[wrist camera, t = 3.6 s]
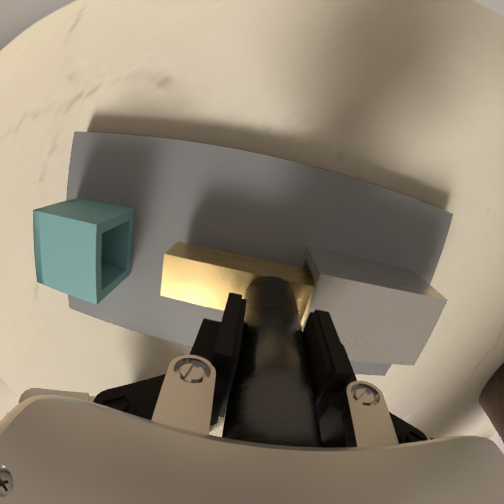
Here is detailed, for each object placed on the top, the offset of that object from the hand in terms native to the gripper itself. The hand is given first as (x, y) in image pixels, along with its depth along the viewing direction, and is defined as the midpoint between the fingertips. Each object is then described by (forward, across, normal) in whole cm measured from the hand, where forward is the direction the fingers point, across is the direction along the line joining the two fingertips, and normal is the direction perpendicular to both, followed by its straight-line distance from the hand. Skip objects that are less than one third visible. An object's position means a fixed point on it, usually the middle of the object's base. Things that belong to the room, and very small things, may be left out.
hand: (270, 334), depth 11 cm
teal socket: (+7, +12, 0) cm, 13 cm away
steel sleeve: (+7, -6, 0) cm, 9 cm away
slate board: (+8, +2, 0) cm, 8 cm away
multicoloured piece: (+6, -2, 0) cm, 6 cm away
